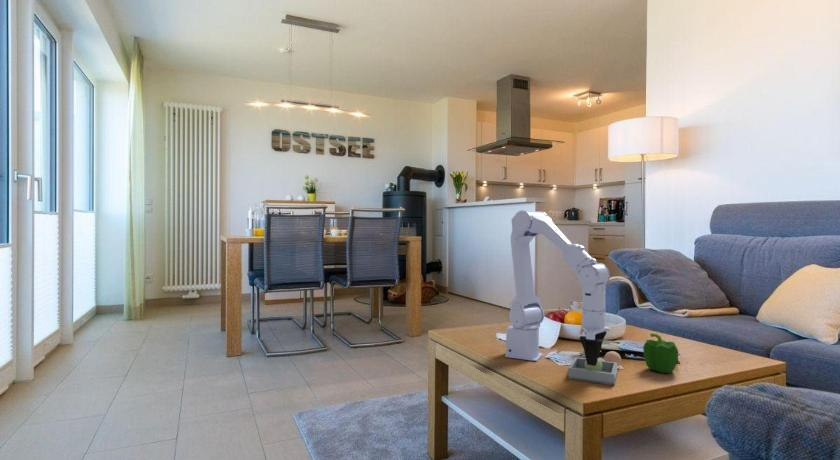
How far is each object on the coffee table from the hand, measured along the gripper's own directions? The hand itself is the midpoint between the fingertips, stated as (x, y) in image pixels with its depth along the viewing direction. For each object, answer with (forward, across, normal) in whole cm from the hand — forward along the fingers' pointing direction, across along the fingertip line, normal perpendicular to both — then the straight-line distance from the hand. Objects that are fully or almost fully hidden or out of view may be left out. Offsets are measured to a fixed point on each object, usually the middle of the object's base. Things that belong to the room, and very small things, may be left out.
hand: (593, 361), depth 119 cm
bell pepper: (+4, +14, -16) cm, 21 cm away
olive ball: (+3, 0, 0) cm, 3 cm away
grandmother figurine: (+4, +24, +3) cm, 25 cm away
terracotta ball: (+4, +10, -4) cm, 12 cm away
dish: (+4, 0, 0) cm, 4 cm away
